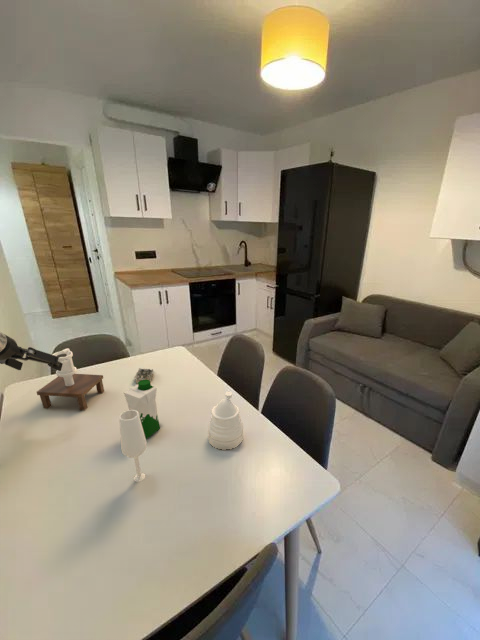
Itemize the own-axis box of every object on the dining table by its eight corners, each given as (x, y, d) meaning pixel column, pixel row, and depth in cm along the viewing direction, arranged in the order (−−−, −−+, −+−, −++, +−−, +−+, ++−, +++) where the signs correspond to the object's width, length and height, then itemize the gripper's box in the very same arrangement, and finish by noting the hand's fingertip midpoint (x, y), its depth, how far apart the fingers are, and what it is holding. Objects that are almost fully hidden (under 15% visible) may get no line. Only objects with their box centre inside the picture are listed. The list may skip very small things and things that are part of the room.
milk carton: (163, 428, 110) (158, 382, 102) (145, 442, 103) (138, 394, 95) (146, 421, 113) (140, 376, 106) (127, 434, 106) (119, 387, 98)
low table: (41, 408, 118) (36, 391, 115) (67, 388, 132) (63, 372, 129) (85, 411, 118) (81, 394, 114) (106, 390, 132) (102, 375, 129)
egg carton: (150, 384, 139) (149, 377, 137) (134, 384, 138) (132, 377, 136) (155, 373, 148) (154, 366, 147) (139, 374, 147) (138, 366, 146)
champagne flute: (138, 493, 84) (126, 426, 74) (123, 483, 87) (109, 417, 77) (156, 477, 89) (147, 412, 79) (141, 468, 92) (131, 405, 82)
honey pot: (222, 422, 115) (221, 383, 108) (249, 434, 109) (251, 393, 102) (200, 441, 104) (198, 399, 97) (229, 455, 99) (229, 411, 92)
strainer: (83, 381, 123) (75, 349, 117) (71, 389, 117) (62, 356, 111) (68, 379, 124) (60, 347, 118) (55, 387, 118) (45, 354, 112)
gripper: (-57, 355, 82) (0, 376, 101) (36, 357, 84) (74, 377, 103) (-47, 331, 84) (7, 356, 104) (43, 333, 86) (79, 357, 106)
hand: (40, 366), depth 104 cm, fingers open, 13 cm apart
